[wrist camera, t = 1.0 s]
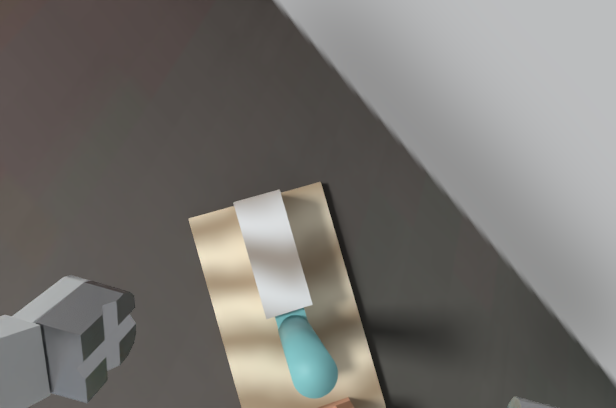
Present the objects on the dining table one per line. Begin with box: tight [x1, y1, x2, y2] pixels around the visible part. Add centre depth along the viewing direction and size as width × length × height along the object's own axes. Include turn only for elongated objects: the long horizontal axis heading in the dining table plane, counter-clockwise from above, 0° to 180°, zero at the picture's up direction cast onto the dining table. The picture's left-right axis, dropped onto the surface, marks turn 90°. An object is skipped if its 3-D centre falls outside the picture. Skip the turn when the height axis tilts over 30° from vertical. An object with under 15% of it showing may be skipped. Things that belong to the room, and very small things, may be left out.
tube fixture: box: [189, 182, 386, 408], centre depth 45 cm, size 28×14×8 cm, turn 16°
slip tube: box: [275, 308, 338, 399], centre depth 39 cm, size 17×3×16 cm, turn 16°
